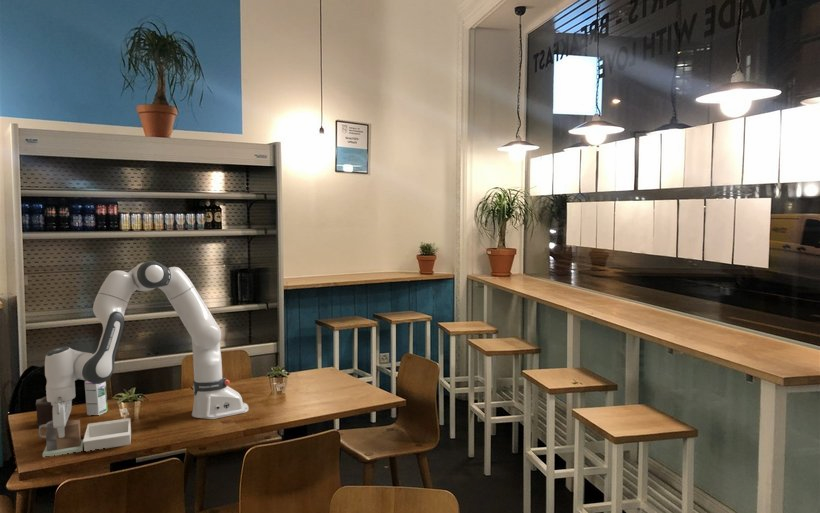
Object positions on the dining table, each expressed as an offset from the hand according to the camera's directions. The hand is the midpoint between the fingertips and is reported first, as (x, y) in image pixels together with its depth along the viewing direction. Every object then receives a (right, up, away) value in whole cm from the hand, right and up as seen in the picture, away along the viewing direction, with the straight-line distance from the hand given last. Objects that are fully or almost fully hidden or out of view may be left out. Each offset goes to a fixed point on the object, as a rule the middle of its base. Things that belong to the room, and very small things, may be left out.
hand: (63, 432), depth 217 cm
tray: (+12, -5, +8) cm, 15 cm away
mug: (-10, -6, +11) cm, 16 cm away
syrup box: (-9, -4, +42) cm, 43 cm away
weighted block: (0, -5, 0) cm, 5 cm away
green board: (0, -6, 0) cm, 6 cm away
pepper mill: (-23, -5, +34) cm, 41 cm away
